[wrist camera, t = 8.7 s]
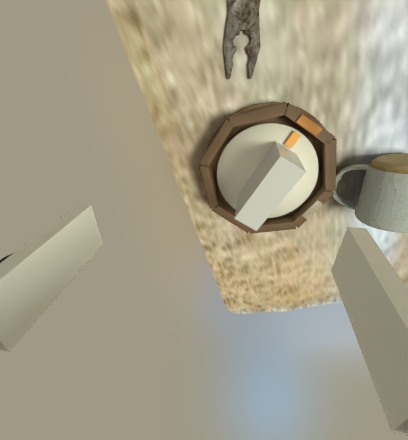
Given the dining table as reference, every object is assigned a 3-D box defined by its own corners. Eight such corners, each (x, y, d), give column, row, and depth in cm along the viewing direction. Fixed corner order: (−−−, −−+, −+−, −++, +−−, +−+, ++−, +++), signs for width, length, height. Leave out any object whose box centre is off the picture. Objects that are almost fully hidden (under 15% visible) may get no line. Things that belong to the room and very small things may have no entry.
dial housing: (191, 120, 33) (184, 124, 30) (332, 84, 28) (342, 85, 25) (218, 227, 41) (215, 239, 38) (331, 214, 36) (338, 227, 33)
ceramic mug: (425, 147, 30) (471, 167, 23) (406, 205, 34) (441, 236, 27) (332, 154, 32) (350, 173, 26) (325, 207, 36) (339, 235, 30)
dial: (275, 229, 38) (279, 262, 31) (202, 187, 36) (189, 211, 30) (340, 157, 30) (364, 179, 24) (251, 101, 29) (250, 107, 22)
